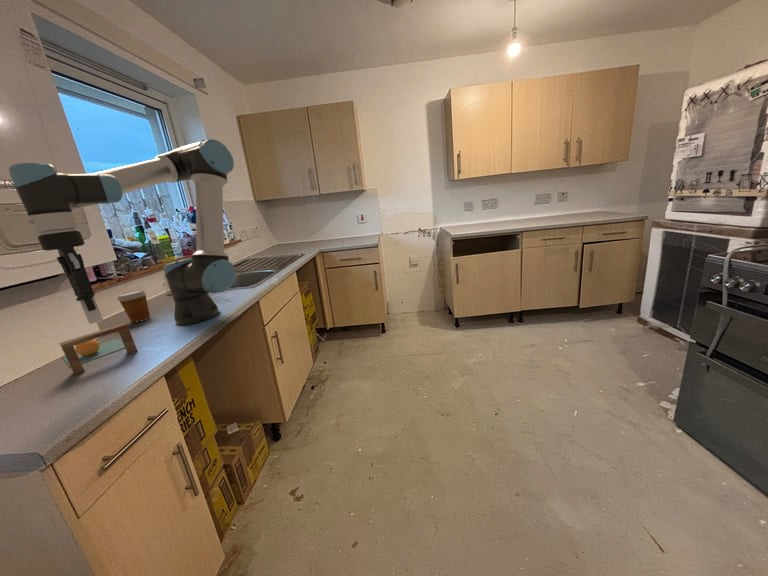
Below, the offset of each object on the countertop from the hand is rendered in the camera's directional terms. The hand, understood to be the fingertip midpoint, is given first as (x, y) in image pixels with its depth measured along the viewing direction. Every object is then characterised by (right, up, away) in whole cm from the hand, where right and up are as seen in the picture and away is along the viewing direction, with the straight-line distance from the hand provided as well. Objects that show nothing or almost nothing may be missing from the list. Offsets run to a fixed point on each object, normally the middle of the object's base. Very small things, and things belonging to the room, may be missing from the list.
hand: (96, 321), depth 82 cm
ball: (-18, -10, +16) cm, 26 cm away
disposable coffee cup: (-25, -5, +47) cm, 54 cm away
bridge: (-6, -13, +10) cm, 18 cm away
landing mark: (-17, -12, +19) cm, 28 cm away
